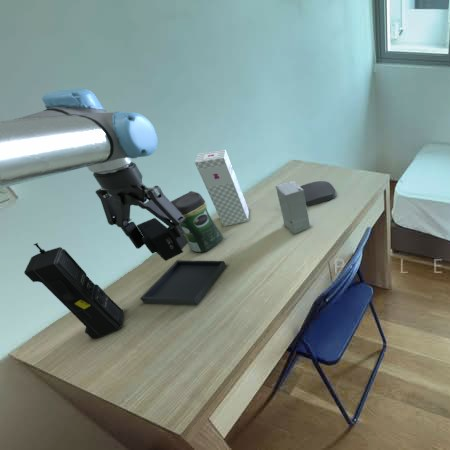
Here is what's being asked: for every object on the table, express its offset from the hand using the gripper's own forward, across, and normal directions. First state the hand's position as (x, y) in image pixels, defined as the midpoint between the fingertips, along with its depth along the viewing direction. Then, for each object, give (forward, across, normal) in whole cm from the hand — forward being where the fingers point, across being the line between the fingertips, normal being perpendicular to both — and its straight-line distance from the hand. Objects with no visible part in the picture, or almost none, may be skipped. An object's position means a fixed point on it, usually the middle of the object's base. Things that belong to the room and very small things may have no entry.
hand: (162, 245), depth 79 cm
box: (+15, +4, -35) cm, 38 cm away
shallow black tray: (+15, +1, -1) cm, 15 cm away
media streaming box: (+15, -22, -52) cm, 59 cm away
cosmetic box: (+15, -22, -30) cm, 40 cm away
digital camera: (+2, 0, 0) cm, 2 cm away
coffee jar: (+15, +6, -19) cm, 25 cm away
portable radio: (+15, +12, +14) cm, 24 cm away
